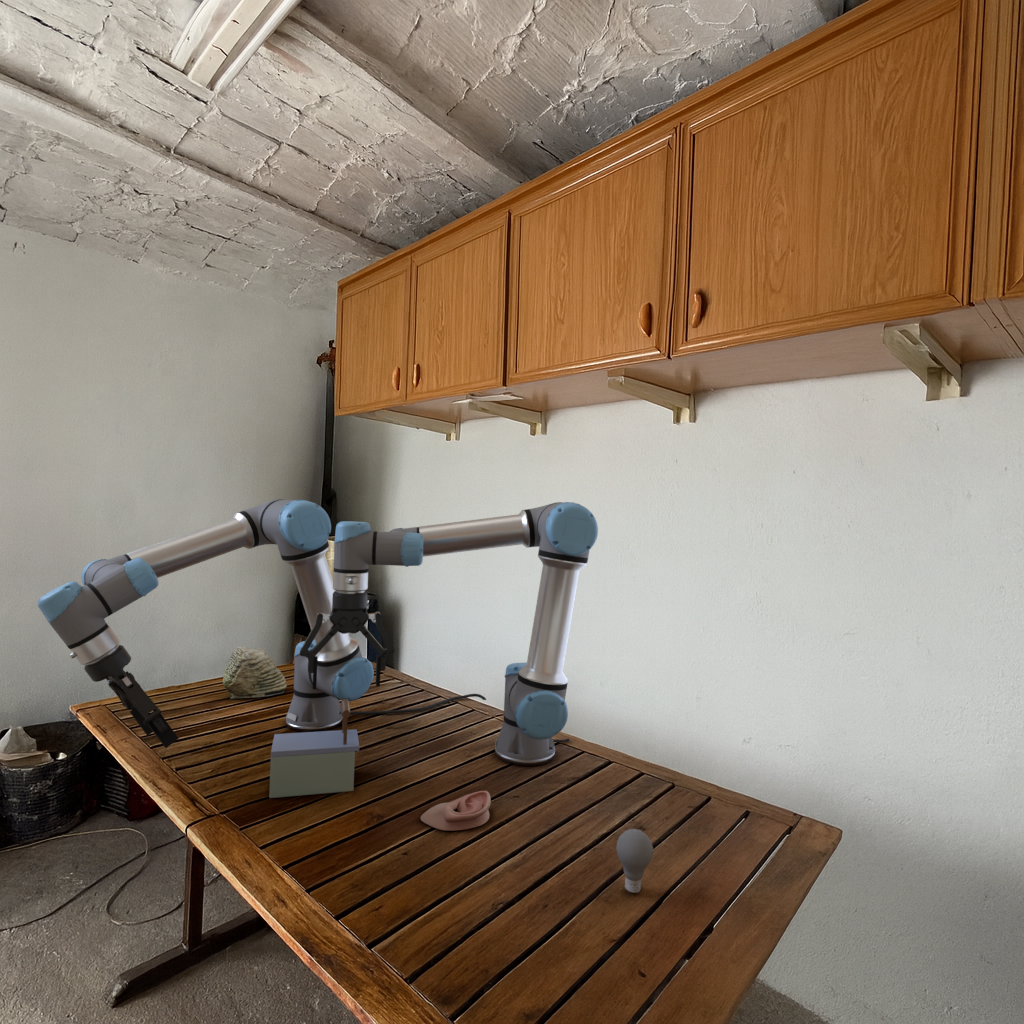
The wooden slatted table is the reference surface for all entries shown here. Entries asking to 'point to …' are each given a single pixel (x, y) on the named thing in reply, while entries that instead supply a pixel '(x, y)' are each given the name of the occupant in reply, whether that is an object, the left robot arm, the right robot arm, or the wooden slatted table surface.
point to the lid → (317, 740)
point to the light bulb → (634, 857)
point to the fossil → (252, 674)
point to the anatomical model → (459, 812)
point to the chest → (311, 774)
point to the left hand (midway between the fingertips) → (162, 736)
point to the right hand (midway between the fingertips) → (346, 686)
